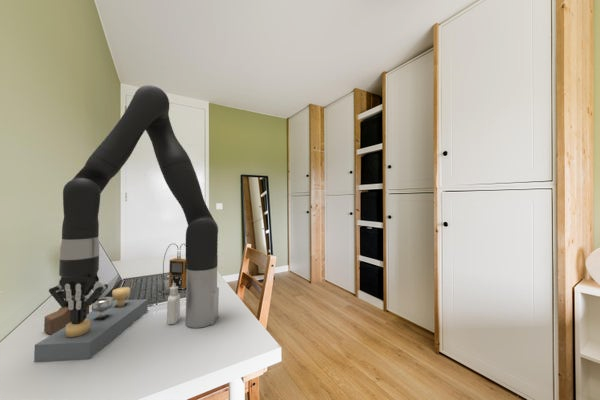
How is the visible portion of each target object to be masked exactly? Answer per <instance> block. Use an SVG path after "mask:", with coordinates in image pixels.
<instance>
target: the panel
mask: <svg viewBox="0 0 600 400" xmlns="http://www.w3.org/2000/svg"><path fill="white" fill-rule="evenodd" d="M148 304H149V303H148V299H147V298H146V299H125V306H124V307H117V300H114V299H113V302H112V307H111V308H109V309H107V318H106V319H105V320H98V312H94V311H92V310H91V311H89V314H87V315H86V319H90V330H89V331H88V332H87V333H85V334H82V335H81V336H75V337H66V327H64V328H63V329H61V330H59V331H58V332H56V333H54V334H52V335H49V336H48V337H46V338H44V339H42V340H40V341H38V342H37V343H36V344H34V353H33V354H34V355H33V356H34V358H33V362H34V363H39V362H41V363H42V362H58V361H59V362H60V361H61V362H62V361H80V360H90V359H91V358H92V357H94V356H95V355H96V354H97V353H99V352H100V351H101V350H102V349H104V348H105V346H107V345H108V344H109V343H110V342H112V341H114V339H116V338H117V337H118V336H119V335H120V334H121V333H123V332H124V331H125V330H126V329H128V328H129V327H130V326H131V325H133V324H134V322H136V321H137V320H138V319H139V318H141V317H142V316H144V315H145V314H146V313H147V312H148Z"/></svg>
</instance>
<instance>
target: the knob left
mask: <svg viewBox="0 0 600 400" xmlns="http://www.w3.org/2000/svg"><path fill="white" fill-rule="evenodd" d="M89 330H90V319H85V320H84V321H83V322H81V323H80V324H72V322H70V323H68V324H67V325H66V337H75V336H81V335H82V334H85V333H87V332H88V331H89Z"/></svg>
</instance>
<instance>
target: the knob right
mask: <svg viewBox="0 0 600 400" xmlns="http://www.w3.org/2000/svg"><path fill="white" fill-rule="evenodd" d="M111 293H112V296H111V297H112V298H113V300H117V307H124V306H125V300H126V299H127V298H129V297H130V296H131V288H130V287H129V286H122V287H117V288H115V289H113V290H112V292H111Z"/></svg>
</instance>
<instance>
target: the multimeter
mask: <svg viewBox="0 0 600 400" xmlns="http://www.w3.org/2000/svg"><path fill="white" fill-rule="evenodd" d="M171 245H173V243H171V244H169V245H168V247H167V249H166V250H165V253H164V256H163V261H162V262H163V263H162V274H163V275H162V276H163V278H162V279H165V272H164V270H165V269H164V265H165V259H166V254H167V251H168V249H169V248H170V247H171ZM174 245H175V246H176V248H177V249H181V248H182V246H183V245H184V246H185V247H186V243H181V245H180V246H178V245H177V244H176V243H174ZM168 269H169V270H168V273H169V274H168V279H169V280H168V284H169V285H168V288H169V287H172V285H173V283H176V286H178V288H184V287H186V274H187V263H186V258H181V252H177V256H176V258H175V257H174V258H172V259H169V268H168ZM163 286H164V287H165V284H163V285H162V287H163Z"/></svg>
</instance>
